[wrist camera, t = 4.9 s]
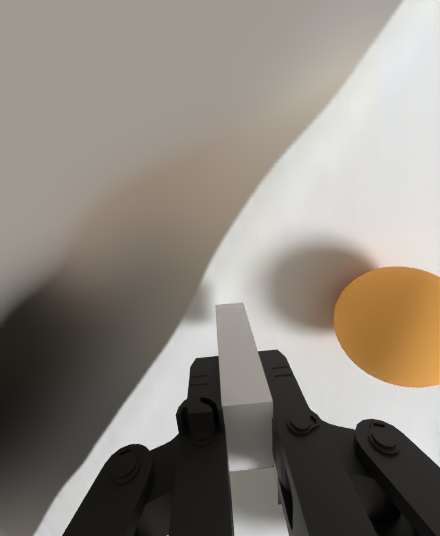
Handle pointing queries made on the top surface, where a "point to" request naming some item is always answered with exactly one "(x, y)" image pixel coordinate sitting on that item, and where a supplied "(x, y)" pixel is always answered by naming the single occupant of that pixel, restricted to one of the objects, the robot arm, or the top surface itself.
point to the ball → (392, 325)
